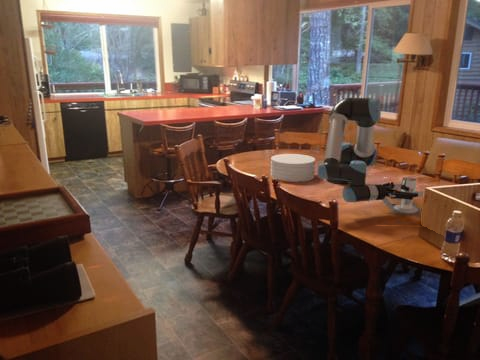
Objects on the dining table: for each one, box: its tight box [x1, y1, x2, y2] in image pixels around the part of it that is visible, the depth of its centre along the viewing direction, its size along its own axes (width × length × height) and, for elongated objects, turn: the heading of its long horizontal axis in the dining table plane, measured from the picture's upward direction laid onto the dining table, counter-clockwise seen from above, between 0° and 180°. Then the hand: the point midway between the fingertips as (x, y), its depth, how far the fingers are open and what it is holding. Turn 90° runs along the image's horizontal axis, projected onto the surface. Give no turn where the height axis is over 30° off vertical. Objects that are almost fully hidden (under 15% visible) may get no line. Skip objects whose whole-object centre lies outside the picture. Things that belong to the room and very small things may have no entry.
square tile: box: [385, 196, 401, 205], centre depth 216 cm, size 10×10×1 cm
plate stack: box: [270, 153, 316, 183], centre depth 266 cm, size 28×28×12 cm
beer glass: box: [400, 176, 418, 210], centre depth 203 cm, size 7×7×15 cm
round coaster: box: [394, 204, 418, 215], centre depth 205 cm, size 11×11×1 cm
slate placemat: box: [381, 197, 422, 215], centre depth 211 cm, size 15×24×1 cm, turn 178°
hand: (413, 189), depth 203 cm, fingers open, 13 cm apart
